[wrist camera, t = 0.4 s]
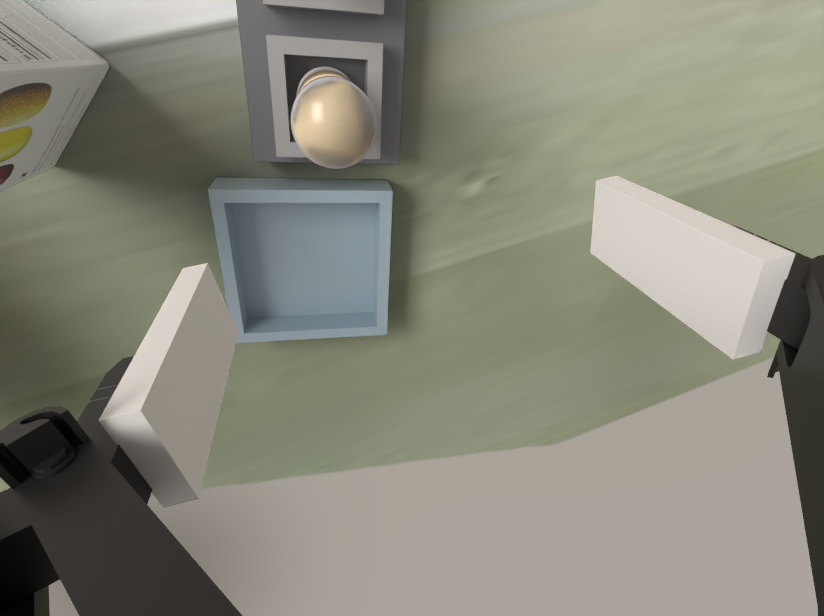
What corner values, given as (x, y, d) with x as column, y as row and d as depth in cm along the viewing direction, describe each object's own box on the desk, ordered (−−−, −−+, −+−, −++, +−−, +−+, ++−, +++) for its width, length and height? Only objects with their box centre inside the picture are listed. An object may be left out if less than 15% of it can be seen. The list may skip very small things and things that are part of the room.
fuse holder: (258, 153, 36) (229, 213, 23) (224, -158, 27) (147, -338, 14) (393, 156, 38) (434, 213, 25) (404, -131, 29) (477, -264, 16)
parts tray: (239, 322, 43) (233, 343, 40) (216, 177, 36) (207, 189, 33) (381, 315, 46) (386, 334, 43) (386, 179, 39) (392, 191, 36)
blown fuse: (298, 128, 33) (293, 168, 23) (294, 63, 31) (287, 75, 20) (356, 130, 33) (376, 169, 23) (356, 67, 31) (377, 80, 21)
